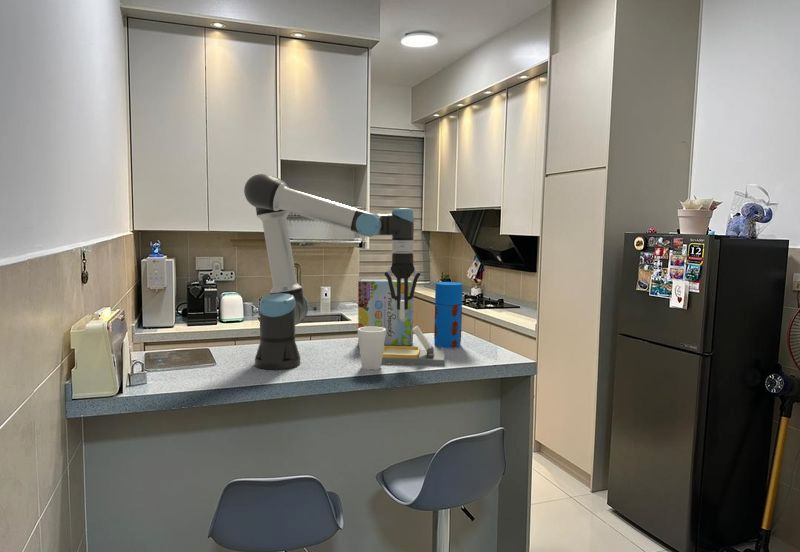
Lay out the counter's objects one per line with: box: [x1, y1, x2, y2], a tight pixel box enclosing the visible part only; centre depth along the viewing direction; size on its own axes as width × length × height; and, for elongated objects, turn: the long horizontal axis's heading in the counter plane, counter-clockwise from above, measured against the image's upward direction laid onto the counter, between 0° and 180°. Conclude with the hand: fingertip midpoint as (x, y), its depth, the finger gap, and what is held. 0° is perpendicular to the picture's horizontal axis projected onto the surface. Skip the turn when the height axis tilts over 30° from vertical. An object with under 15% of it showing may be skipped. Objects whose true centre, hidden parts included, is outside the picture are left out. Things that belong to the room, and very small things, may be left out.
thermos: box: [433, 281, 464, 349], centre depth 216 cm, size 11×11×25 cm
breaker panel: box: [381, 345, 445, 367], centre depth 193 cm, size 26×14×3 cm, turn 86°
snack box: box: [357, 279, 414, 346], centre depth 218 cm, size 22×9×26 cm, turn 82°
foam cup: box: [357, 327, 386, 371], centre depth 181 cm, size 10×9×13 cm
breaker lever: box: [413, 325, 435, 354], centre depth 192 cm, size 2×5×11 cm
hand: (402, 318), depth 192 cm, fingers closed
